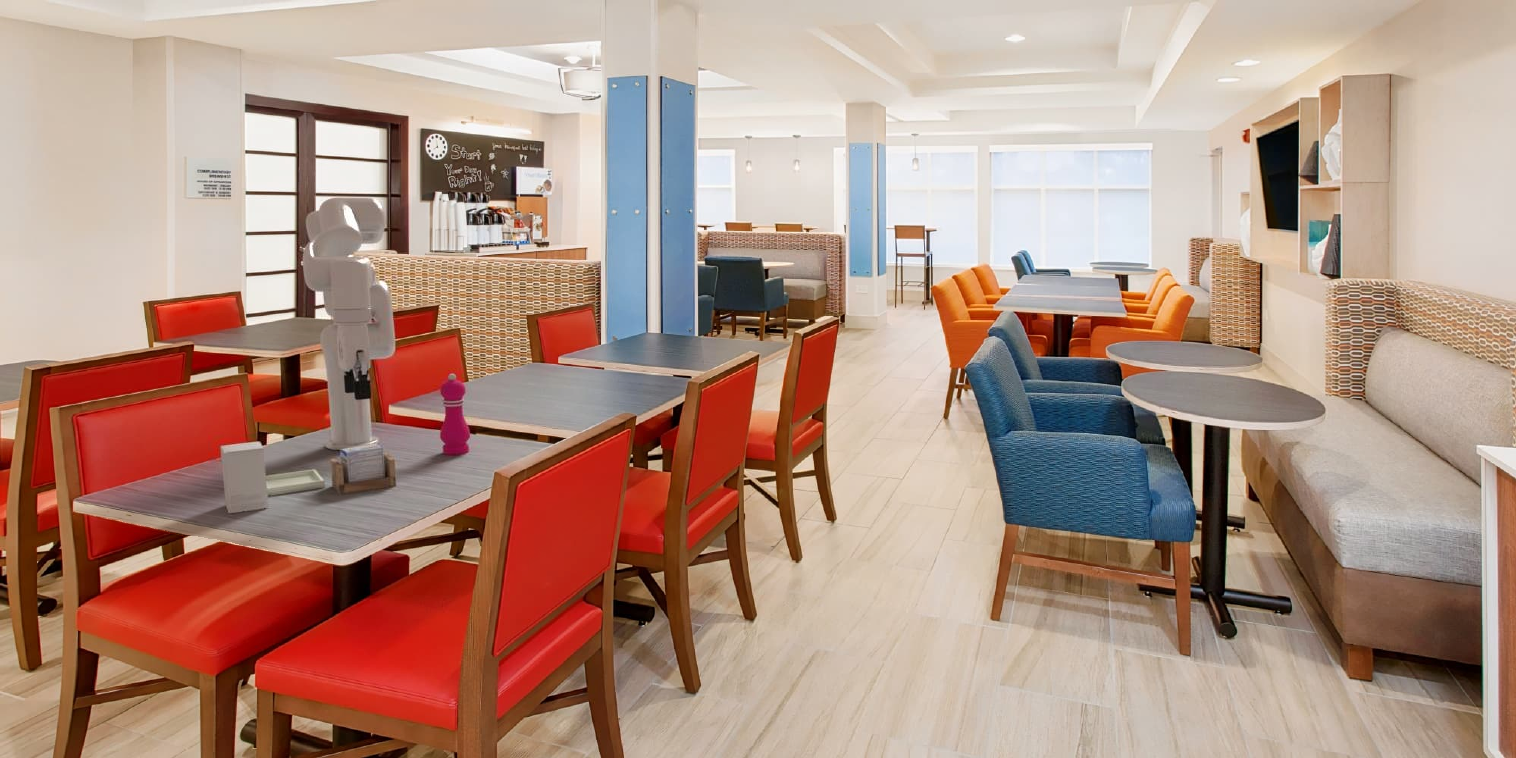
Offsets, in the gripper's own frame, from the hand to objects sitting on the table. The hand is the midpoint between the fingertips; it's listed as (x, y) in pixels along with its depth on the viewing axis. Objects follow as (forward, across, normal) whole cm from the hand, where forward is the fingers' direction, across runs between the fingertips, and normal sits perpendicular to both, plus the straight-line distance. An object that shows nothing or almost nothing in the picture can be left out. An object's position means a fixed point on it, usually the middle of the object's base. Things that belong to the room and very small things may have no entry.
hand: (357, 395), depth 203 cm
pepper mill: (+20, -19, +26) cm, 38 cm away
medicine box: (+20, 0, 0) cm, 21 cm away
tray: (+20, -9, -13) cm, 26 cm away
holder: (+20, 0, 0) cm, 20 cm away
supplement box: (+20, +2, -23) cm, 31 cm away
